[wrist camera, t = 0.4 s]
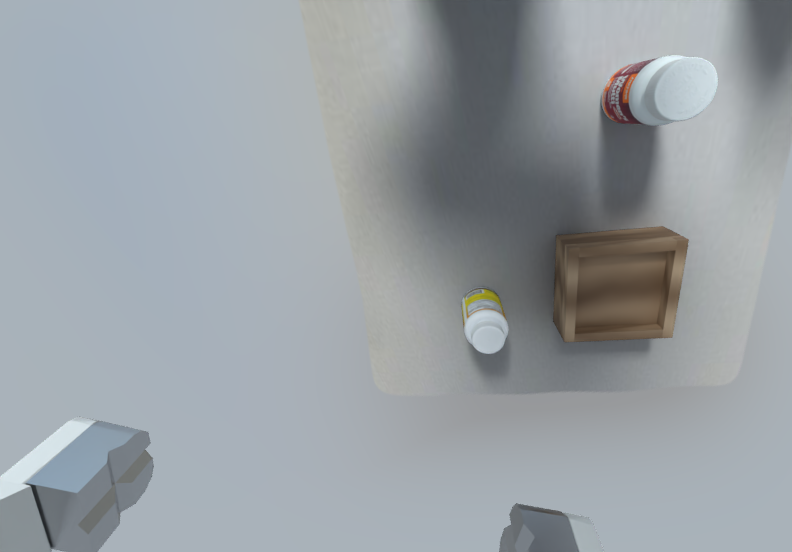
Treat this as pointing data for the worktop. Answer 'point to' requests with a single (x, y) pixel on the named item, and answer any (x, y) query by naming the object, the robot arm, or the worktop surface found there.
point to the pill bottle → (660, 90)
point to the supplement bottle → (484, 320)
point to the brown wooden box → (618, 284)
